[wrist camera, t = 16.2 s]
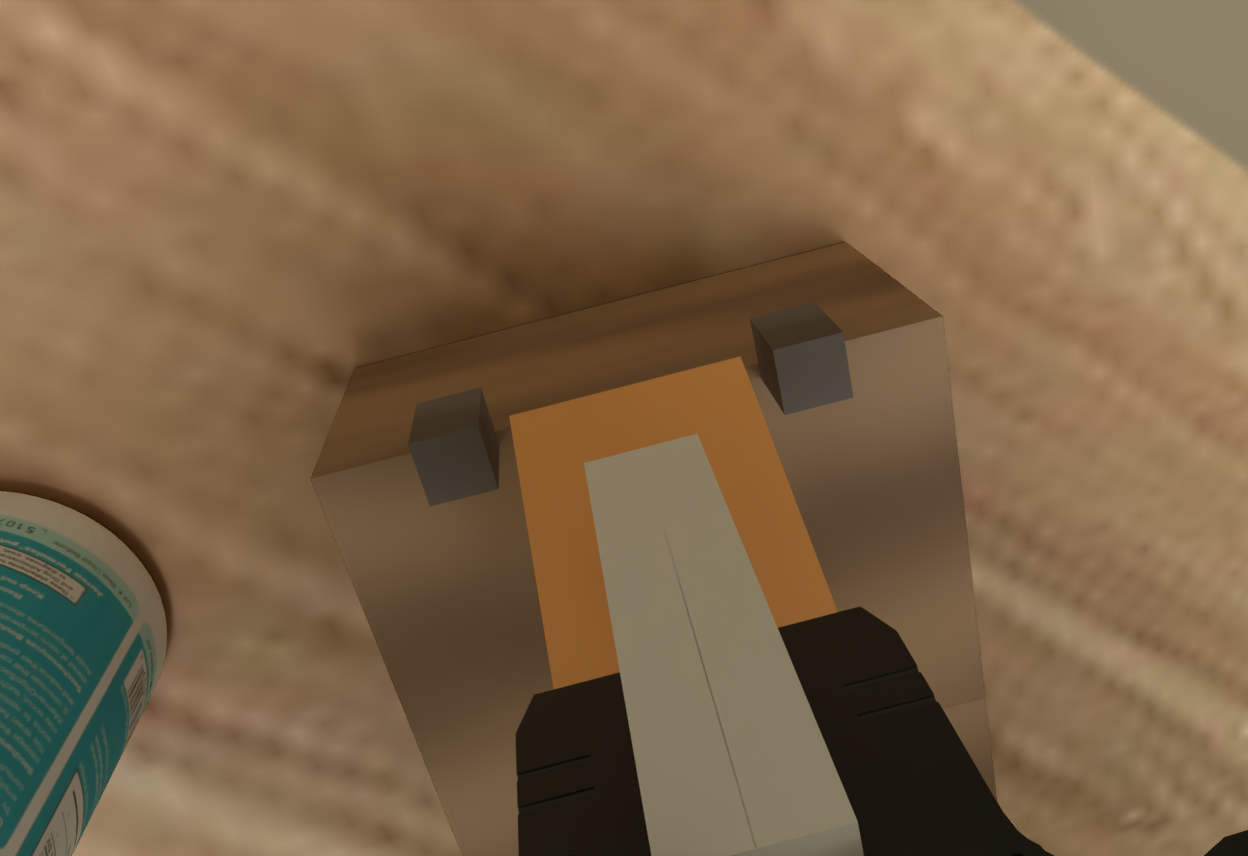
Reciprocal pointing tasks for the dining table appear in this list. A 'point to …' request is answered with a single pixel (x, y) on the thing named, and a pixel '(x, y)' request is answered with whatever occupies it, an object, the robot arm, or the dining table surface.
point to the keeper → (631, 421)
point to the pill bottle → (67, 668)
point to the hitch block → (612, 358)
